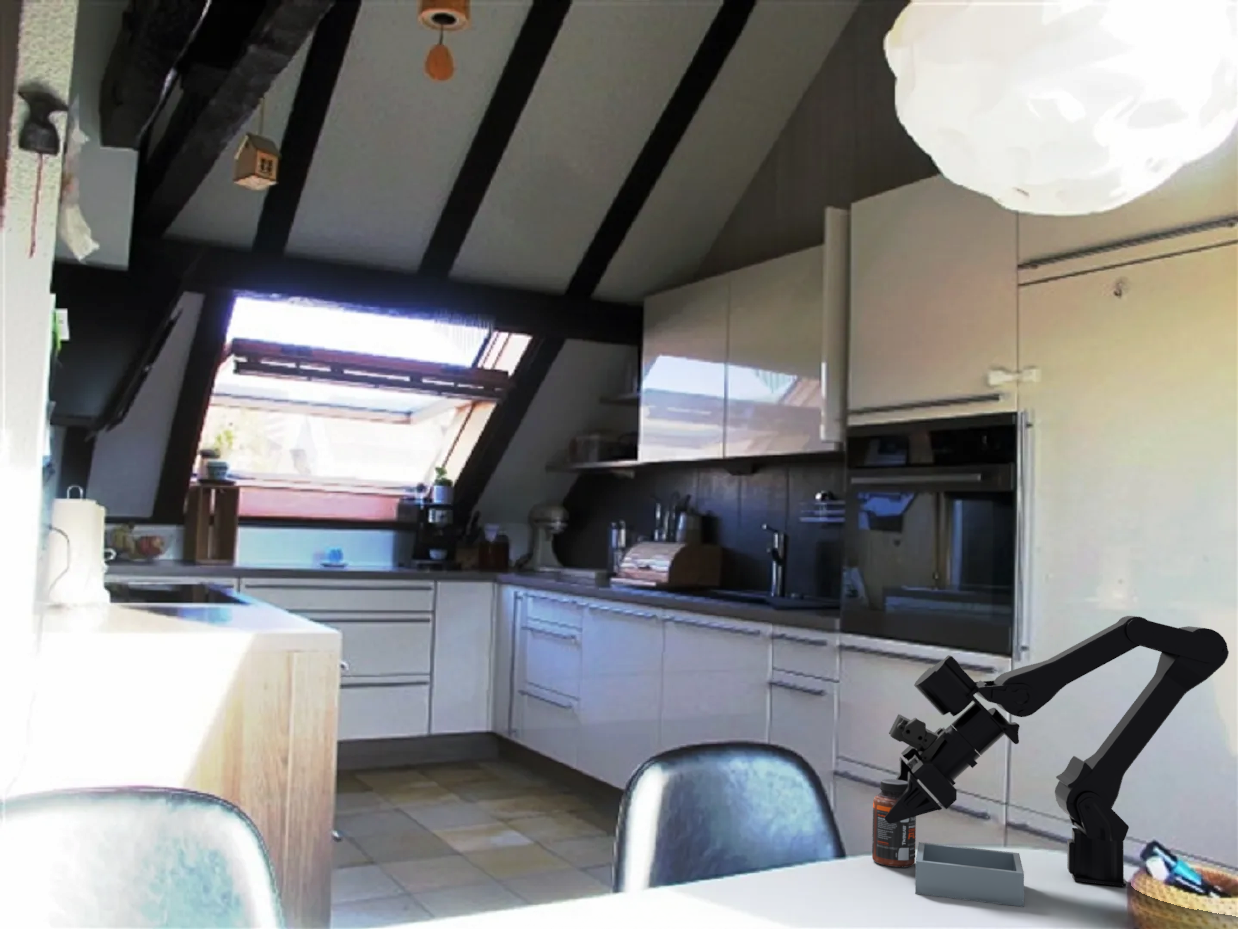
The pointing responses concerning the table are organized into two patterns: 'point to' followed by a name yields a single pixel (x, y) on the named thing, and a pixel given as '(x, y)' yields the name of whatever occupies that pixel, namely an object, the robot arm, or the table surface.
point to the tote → (969, 874)
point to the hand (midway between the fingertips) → (884, 814)
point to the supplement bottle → (892, 828)
